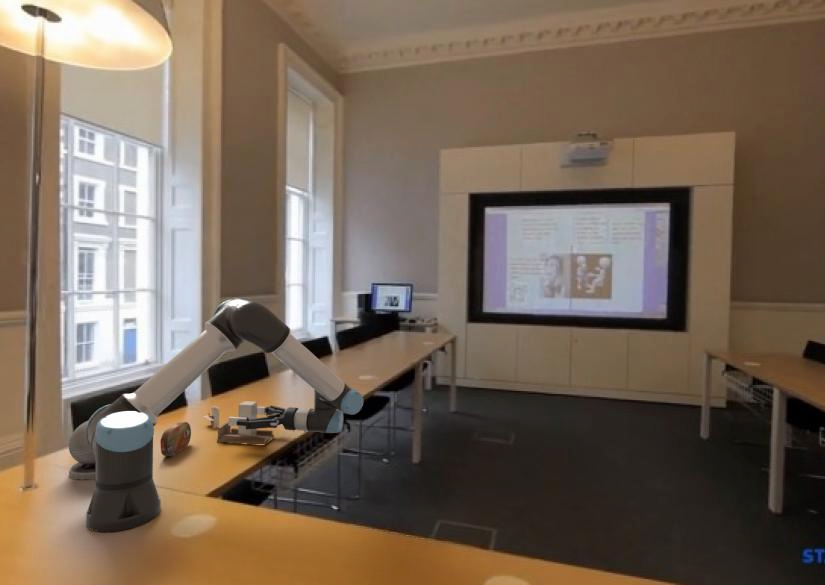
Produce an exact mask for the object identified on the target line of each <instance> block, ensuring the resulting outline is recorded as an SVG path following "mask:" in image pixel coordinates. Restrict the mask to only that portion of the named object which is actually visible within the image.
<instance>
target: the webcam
mask: <svg viewBox="0 0 825 585" xmlns="http://www.w3.org/2000/svg"><path fill="white" fill-rule="evenodd" d="M88 421H89V420H87V421H84V422H82V423H81V424H79V426H78V427H76V428H75V430H74V431H73V432H72V434H71V435H70V437H69V440H68V451H69V453H70V455H71V457H72V458H73V460H75V462H76V463H74V464H72V466H71V467H70V468H69V470H68V471H69V472H68V476H69V477H70V478H71V479H73V480H77V479H89V480H96V459H95V454H94V452H93V450H92V448H91V447H90V446H89V444H88V442H87V438H86V427H87V423H88Z"/></svg>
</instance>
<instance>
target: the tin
mask: <svg viewBox="0 0 825 585" xmlns="http://www.w3.org/2000/svg"><path fill="white" fill-rule="evenodd" d="M191 437H192V429H191V424H189V423H188V422H187V421H184V422H177V423H175V424H173V425H172V426H171V427H170V428H168V429H166V430H164V431H163V433H162V435H161V438H160V441H159V442H160V452H161V455H162V456H164V457H175V456H176V455H178V454H179V453H181V450H182V451H183V450H184V449H185V447H186V448H187V447H188V446H189V443H190V441H191ZM177 453H178V454H177Z"/></svg>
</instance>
